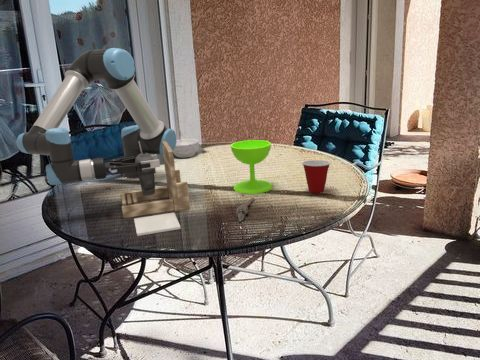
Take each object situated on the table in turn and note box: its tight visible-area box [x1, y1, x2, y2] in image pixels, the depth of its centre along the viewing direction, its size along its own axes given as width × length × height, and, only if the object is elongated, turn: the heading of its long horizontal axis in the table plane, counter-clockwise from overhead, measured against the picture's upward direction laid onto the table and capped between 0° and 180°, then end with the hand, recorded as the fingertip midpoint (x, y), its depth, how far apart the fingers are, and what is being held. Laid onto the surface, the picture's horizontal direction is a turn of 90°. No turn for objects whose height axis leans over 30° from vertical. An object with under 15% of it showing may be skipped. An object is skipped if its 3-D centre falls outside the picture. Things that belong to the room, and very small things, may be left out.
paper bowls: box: [173, 138, 200, 159], centre depth 246 cm, size 15×15×8 cm
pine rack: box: [119, 141, 191, 219], centre depth 170 cm, size 24×20×22 cm
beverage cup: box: [135, 141, 156, 196], centre depth 168 cm, size 7×7×20 cm
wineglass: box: [230, 139, 274, 195], centre depth 184 cm, size 16×16×18 cm
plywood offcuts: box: [121, 191, 139, 206], centre depth 170 cm, size 5×12×4 cm, turn 16°
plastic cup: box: [301, 159, 332, 195], centre depth 175 cm, size 11×11×12 cm
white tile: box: [133, 212, 182, 237], centre depth 154 cm, size 14×14×1 cm
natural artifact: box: [236, 197, 255, 222], centre depth 161 cm, size 4×23×4 cm
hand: (158, 160), depth 168 cm, fingers closed on beverage cup, 7 cm apart
